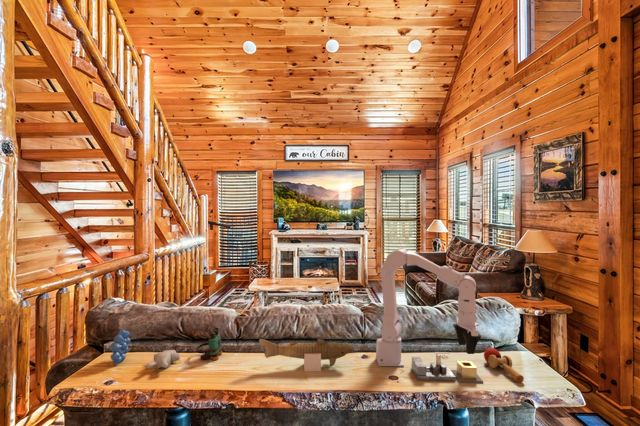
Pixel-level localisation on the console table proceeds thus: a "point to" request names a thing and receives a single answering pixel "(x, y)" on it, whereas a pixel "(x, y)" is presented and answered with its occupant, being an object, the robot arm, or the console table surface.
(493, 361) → the kendama
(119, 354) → the grapes
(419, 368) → the gray fixture base
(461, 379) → the rubber mat
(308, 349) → the wood carving
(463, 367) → the wooden hollow block
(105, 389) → the console table surface
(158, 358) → the bunny figurine
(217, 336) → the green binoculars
